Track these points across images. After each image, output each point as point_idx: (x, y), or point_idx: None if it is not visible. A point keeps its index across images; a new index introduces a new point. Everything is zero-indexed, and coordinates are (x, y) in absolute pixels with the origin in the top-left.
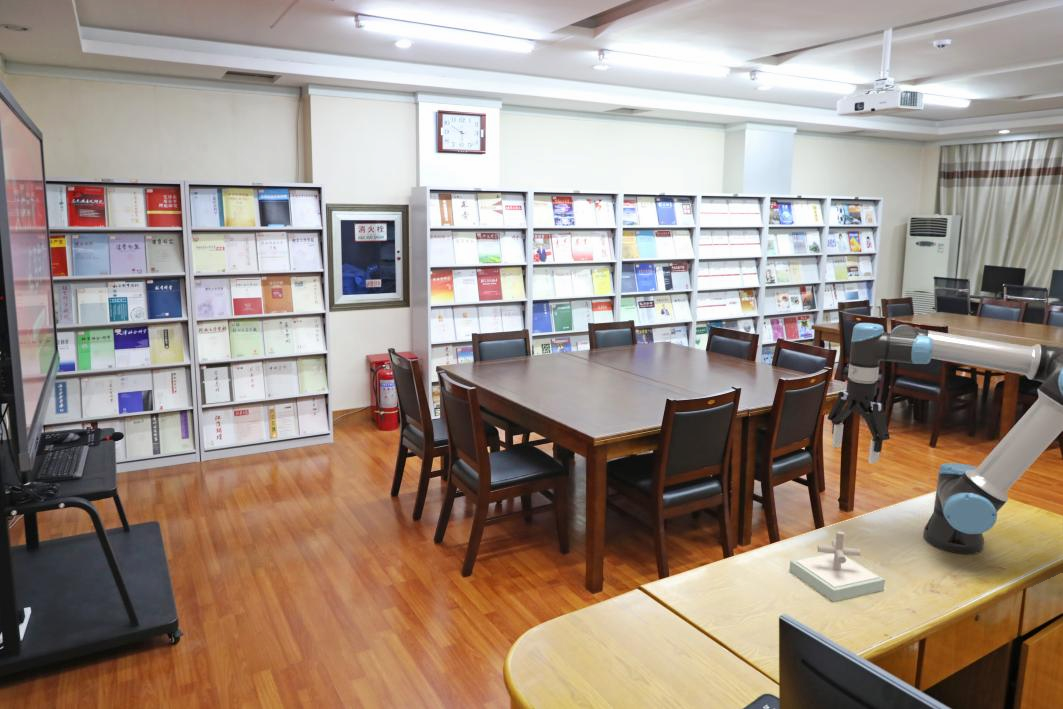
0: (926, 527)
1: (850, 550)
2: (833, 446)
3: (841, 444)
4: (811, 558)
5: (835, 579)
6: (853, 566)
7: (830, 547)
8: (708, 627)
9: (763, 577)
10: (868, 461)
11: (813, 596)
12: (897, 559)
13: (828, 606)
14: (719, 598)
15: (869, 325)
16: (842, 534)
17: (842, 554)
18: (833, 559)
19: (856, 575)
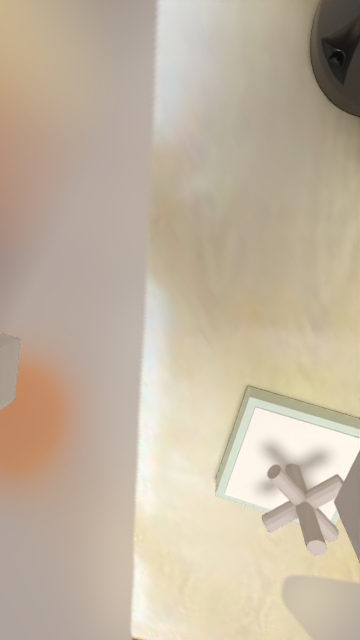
0: (328, 54)
1: (329, 501)
2: (7, 401)
3: (10, 344)
4: (236, 468)
5: None
6: (310, 439)
7: (291, 521)
8: None
9: (203, 522)
10: (336, 508)
11: None
12: (328, 275)
13: None
14: (205, 604)
15: None
16: (324, 551)
17: (327, 531)
18: (266, 441)
19: (333, 466)
